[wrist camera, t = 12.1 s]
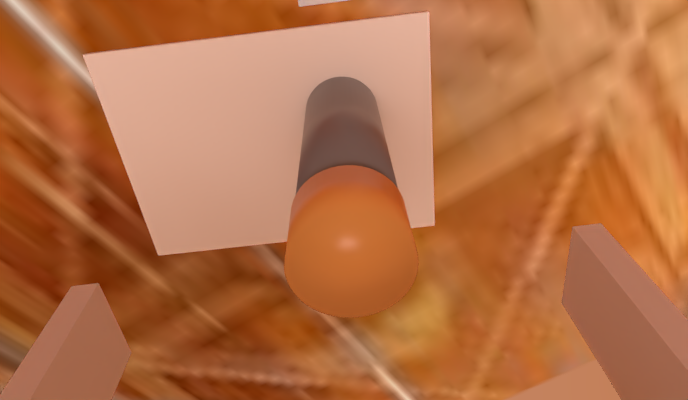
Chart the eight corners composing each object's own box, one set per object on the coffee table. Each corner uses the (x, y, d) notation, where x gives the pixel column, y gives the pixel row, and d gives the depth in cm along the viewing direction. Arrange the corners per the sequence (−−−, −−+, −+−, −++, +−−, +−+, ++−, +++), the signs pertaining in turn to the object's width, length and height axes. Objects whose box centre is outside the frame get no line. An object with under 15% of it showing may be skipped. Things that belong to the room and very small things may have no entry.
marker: (312, 152, 29) (299, 325, 17) (296, 81, 27) (269, 222, 15) (383, 140, 29) (424, 307, 16) (373, 68, 26) (411, 200, 14)
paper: (159, 252, 32) (158, 255, 32) (85, 53, 26) (82, 54, 26) (433, 223, 32) (434, 225, 32) (428, 10, 25) (429, 11, 25)
